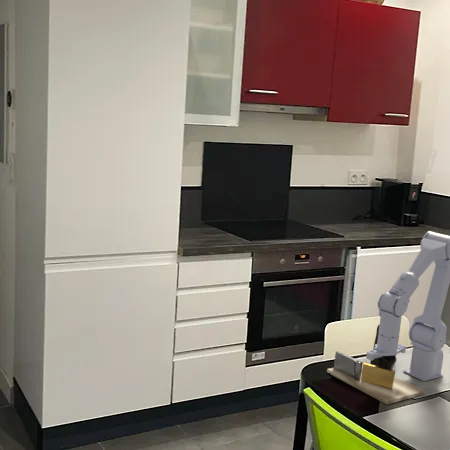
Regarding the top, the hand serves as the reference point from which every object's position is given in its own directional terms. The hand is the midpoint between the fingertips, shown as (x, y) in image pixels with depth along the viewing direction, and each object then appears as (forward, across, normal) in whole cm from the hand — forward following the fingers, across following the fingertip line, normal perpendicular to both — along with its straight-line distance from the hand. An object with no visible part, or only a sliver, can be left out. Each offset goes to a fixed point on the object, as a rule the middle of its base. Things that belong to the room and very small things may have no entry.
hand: (383, 379), depth 187 cm
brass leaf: (+1, +2, 0) cm, 3 cm away
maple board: (+2, 0, -3) cm, 4 cm away
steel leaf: (+1, +5, -9) cm, 11 cm away
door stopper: (+3, -15, -13) cm, 20 cm away
